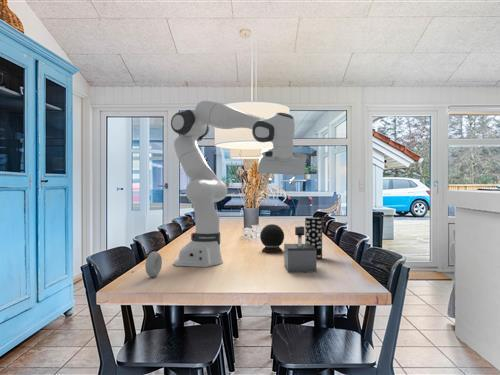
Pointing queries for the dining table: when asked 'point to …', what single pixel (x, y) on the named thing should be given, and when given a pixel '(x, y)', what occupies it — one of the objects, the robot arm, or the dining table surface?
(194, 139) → the robot arm
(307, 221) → the spotted tube
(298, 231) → the plunger
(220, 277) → the dining table surface
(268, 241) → the black ball on stand
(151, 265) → the grey thick disc
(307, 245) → the block
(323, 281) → the dining table surface
